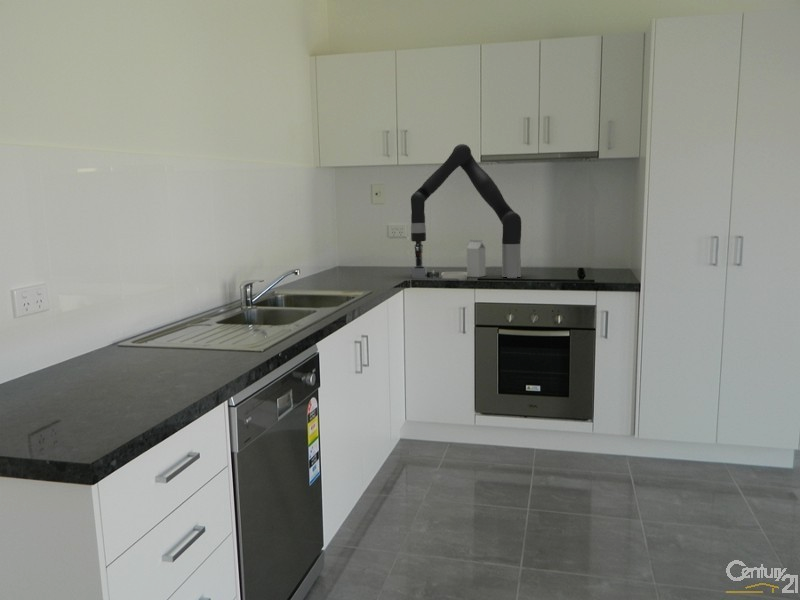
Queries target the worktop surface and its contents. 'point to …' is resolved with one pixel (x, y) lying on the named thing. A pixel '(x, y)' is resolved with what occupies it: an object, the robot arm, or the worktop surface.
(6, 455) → the worktop surface
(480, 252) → the milk carton
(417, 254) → the lock pin
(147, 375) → the worktop surface
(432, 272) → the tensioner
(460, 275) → the tray
